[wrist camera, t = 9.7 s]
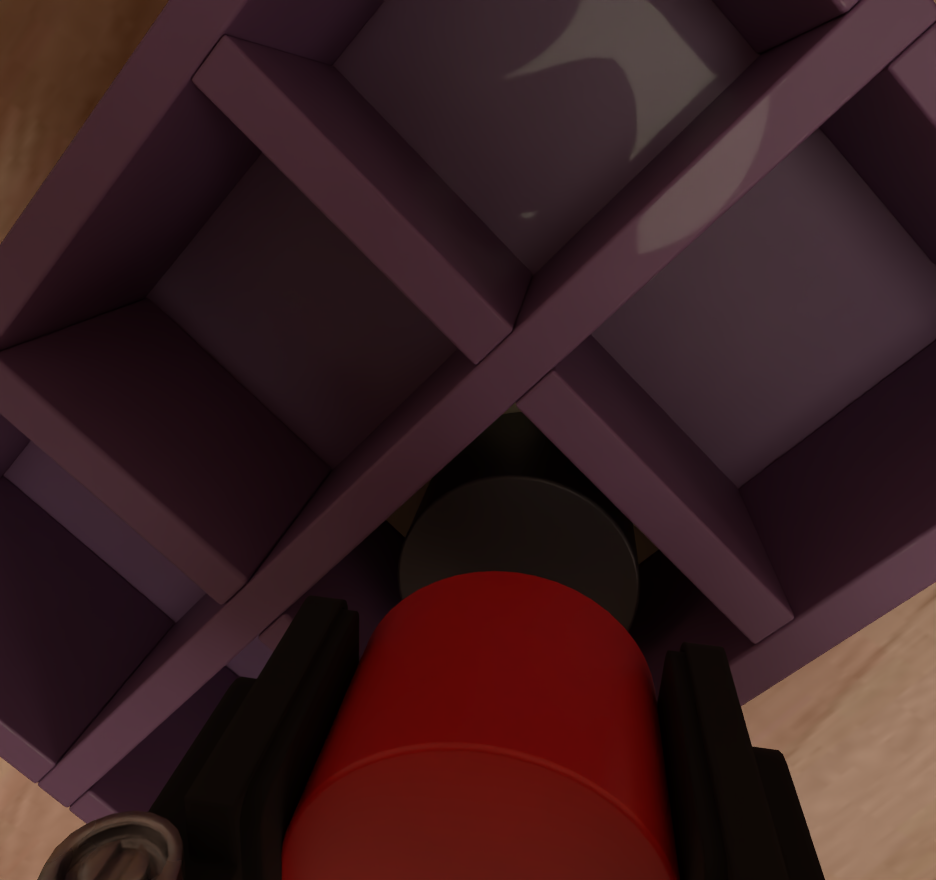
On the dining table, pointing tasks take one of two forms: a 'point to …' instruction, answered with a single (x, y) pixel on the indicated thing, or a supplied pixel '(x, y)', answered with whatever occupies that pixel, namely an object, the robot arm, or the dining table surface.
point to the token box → (459, 335)
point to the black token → (522, 521)
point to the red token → (491, 746)
